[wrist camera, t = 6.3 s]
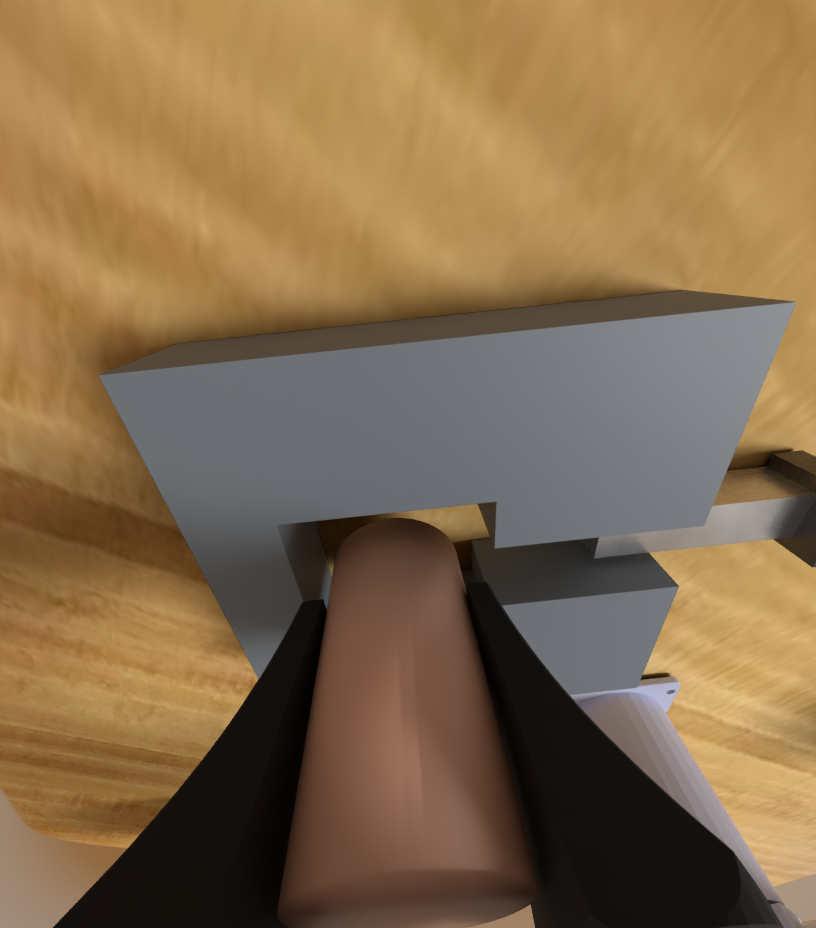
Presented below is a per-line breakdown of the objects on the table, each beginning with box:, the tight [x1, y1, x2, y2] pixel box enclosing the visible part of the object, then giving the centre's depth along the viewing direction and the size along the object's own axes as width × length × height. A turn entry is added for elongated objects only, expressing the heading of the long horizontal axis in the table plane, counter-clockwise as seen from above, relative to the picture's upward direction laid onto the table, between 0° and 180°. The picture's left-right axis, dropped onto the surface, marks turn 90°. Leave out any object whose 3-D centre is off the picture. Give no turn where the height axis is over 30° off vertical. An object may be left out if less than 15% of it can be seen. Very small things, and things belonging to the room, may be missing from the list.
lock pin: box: [581, 451, 816, 567], centre depth 14 cm, size 3×9×3 cm, turn 95°
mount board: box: [98, 290, 797, 695], centre depth 14 cm, size 16×16×4 cm
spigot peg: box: [277, 518, 539, 928], centre depth 10 cm, size 4×4×8 cm
